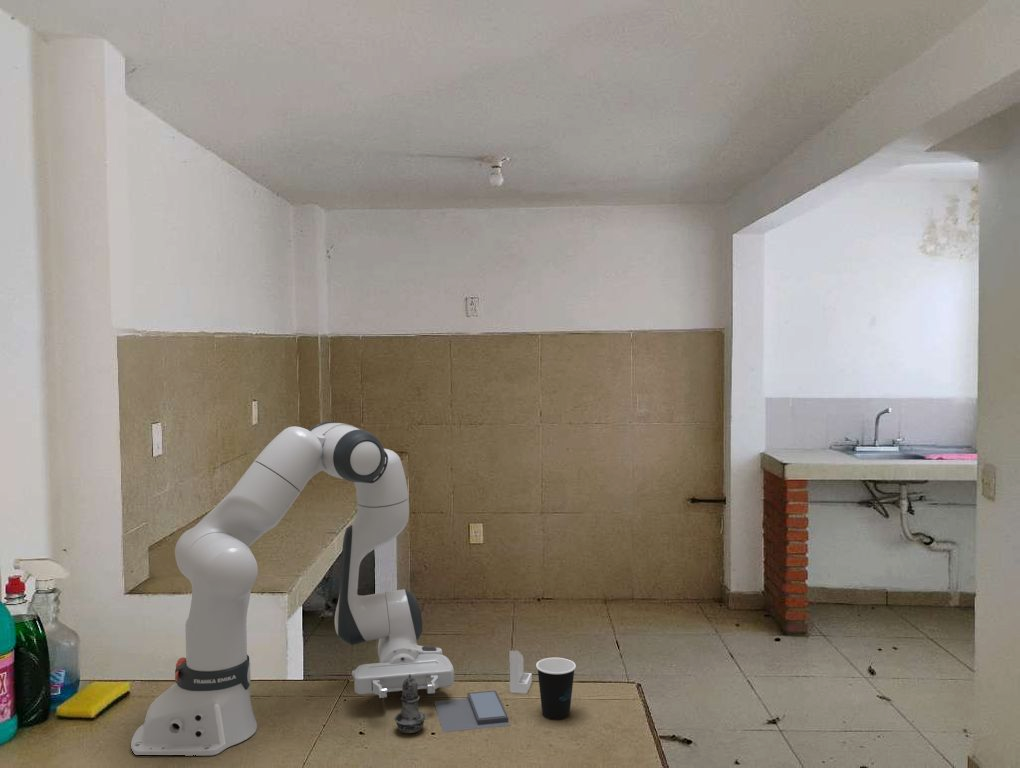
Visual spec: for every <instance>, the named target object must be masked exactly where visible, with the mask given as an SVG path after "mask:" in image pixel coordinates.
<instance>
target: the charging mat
mask: <svg viewBox="0 0 1020 768" xmlns="http://www.w3.org/2000/svg"><path fill="white" fill-rule="evenodd" d="M433 702H434V703H433V704H434V706H435V710H436V713H437V715H438V720H439V724H440V727H441V730H442V733H449V732H451V733H452V732H458V731H462V732H463V731H470V730H482V729H491V728H500V727H509V726H510V725H511V724H510V723H509V722H510V721H508V722H503V723H493V724H483V725H478V724H477V721H476V719H475V716H474V713H473V711H472V708H471V705H470V703H469V700H468V698H467V697H463V698H455V699H445V700H444V699H443V700H435V701H433Z"/></svg>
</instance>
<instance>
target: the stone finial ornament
mask: <svg viewBox="0 0 1020 768" xmlns="http://www.w3.org/2000/svg"><path fill="white" fill-rule="evenodd" d="M408 677H409V678H408V679H406V680H404V681H403V684H402V695H401V697H400V701H401V706H402V707H401V708H402V709H401V712H399V713H397V714H396V715H395V717H394V721H395V722H396V723H395V724H396V726H397V728H398V729H399V730H400V731H401V732H402V733H404V734H415V733H417V732H419V731H420V730H421V729H422V728H423V726H424V723H425V720H426V714H425V713H423V712H422V711H420V710H419V700H420V695H418V689H417V681H416V680H415V679H413V678H411V677H412V676H411V675H410V674H409V676H408Z"/></svg>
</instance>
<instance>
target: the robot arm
mask: <svg viewBox="0 0 1020 768" xmlns="http://www.w3.org/2000/svg"><path fill="white" fill-rule="evenodd" d="M402 463H403V462H402V460H401V457H400V456H399V455H398V453H397V452H395V451H393V450H391V449H388V448H384V447H383V445H382V443H381V441H380V440H379V438H377V437H376V436H375V435H374V434H372V433H371V432H369V431H367V430H365V429H360V428H358V427H356V426H355V425H352V424H348V423H342V422H336V421H324V422H320V423H317V424H315V425H313V426H311V427H310V428H308V429H307V428H304V427H302V426H295V425H294V426H289V427H287V428H285V429H283V430H282V431H281V432H280V433H279V434H277V435H276V436H275V437H274V438H272V440H271V441H270V442H269V443H268V444H267V445H266V446H265V447H264V449H262V451H261V452H260V453H259V454H258V456H257V457H256V458H255V459H254V461H253V462H252V463H251V464H250V466H249V467H248V468H247V469H246V471H245V473H244V474H243V475H242V476H241V477H240V479H239V480H238V481H237V483H236V484H235V486H233V488H232V489H231V490H230V491H229V493H228V494H227V495H226V496H225V497H224V498H223V499H221V501H220V502H219V503H218V504H217V505H216V506H215V507H214V508H212V509H211V510H210V511H209V512H208V513H207V514H206V515H205V516H203V518H202V519H201V520H199V522H197V524H196V525H194V526H193V527H191V528H189V529H188V530H186V531H185V532H183V534H182V535H180V537H179V538H178V540H177V542H176V543H175V547H174V556H175V558H174V559H175V562H176V565H177V569H178V570H179V571H180V573H181V574H182V575H183V576H184V577H185V578H186V579H188V580H189V582H190V585H191V601H190V608H189V613H188V617H187V619H186V621H185V657H180V658H179V659H178V660H177V661H176V664H175V670H174V671H175V672H174V680H175V682H174V683H173V684H172V685H171V686H170V687H168V688H167V689H166V690H165V691H164V692H163V693H161V694H160V695H158V696H157V697H156V698H155V699H153V702H152V703H151V704H150V706H149V707H148V709H147V712H146V715H145V719H144V722H143V724H141V725H140V726H139V727H138V728H137V729H136V731H135V732H134V734H133V735H132V737H131V741H130V743H131V744H130V750H131V749H132V751H133V752H134V754H136V755H185V756H187V757H188V756H189V757H191V756H193V755H194V757H195V755H196V756H215V755H218V754H219V753H222V752H223V751H225V750H226V749H227V748H229V747H233V746H234V745H238V744H240V743H242V742H244V741H246V740H247V739H249V738H250V737H252V736H253V735H254V734H255V733H256V731H257V729H258V723H257V721H256V717H255V714H254V710H253V705H252V700H251V694H250V685H251V663H250V656H249V654H248V642H247V641H248V639H247V638H248V637H247V636H248V635H247V633H248V632H247V623H248V621H247V619H248V609H249V603H250V598H251V595H252V594H251V592H252V589H253V586H254V585H255V583H256V581H257V578H258V576H259V575H258V574H259V566H258V562H257V559H256V558H255V556H254V554H253V552H252V550H251V549H250V547H251V546H252V545H253V544H254V543H255V542H256V541H257V540H258V539H260V537H262V536H263V535H264V534H265V533H266V532H268V531H271V530H272V529H274V528H276V527H277V526H278V524H279V523H280V522H281V520H282V519H283V518H284V517H285V515H286V514H287V512H288V511H289V510H290V508H291V507H292V505H293V504H294V502H296V500H297V498H298V497H299V495H301V493H302V491H303V490H304V488H305V487H306V486H307V484H308V482H309V481H310V480H311V479H312V478H313V477H314V476H315V475H317V474H319V473H320V472H322V471H323V472H324V473H326V474H327V475H330V476H331V477H334V478H337V479H342V480H345V481H348V482H352V483H353V484H354V487H355V489H356V491H355V492H356V495H355V496H356V504H357V507H356V515H355V518H354V521H353V522H352V524H351V525H349V526H348V527H346V529H345V532H344V535H343V541H342V551H341V559H340V570H339V571H340V572H339V583H338V584H339V585H338V598H337V603H336V604H337V605H336V608H335V613H334V629H335V632H336V635H337V637H338V638H339V639H340V640H341V641H343V642H344V643H346V644H348V645H350V646H354V645H357V644H361V643H362V644H363V643H365V642H367V641H373V640H378V643H377V653H378V654H377V655H378V660H379V662H375V663H363V664H360V665H358V666H357V667H356V669H353V670H352V672H351V676H352V678H353V679H354V682H353V683H354V684H353V685H354V687H353V688H354V692H355V694H357V695H366V694H369V695H370V694H375V695H378V698H379V699H385V698H387V697H388V694H387V693H390V692H392V693H393V692H400V691H402V684H403V681H404V680H406V679H408V678H409V677H408V676H409V674H410V675H411V676H412V677H411V678H413V679H415V680H416V681H417V690H426V692H427V695H428V694H429V695H430V694H435V693H436V689H438V688H439V689H440V688H447V687H448V688H450V687H452V686H453V685H454V684H455V670H454V666H453V663H452V662H451V661H450V659H449V657H447V656H446V655H443V649H442V648H440V647H434V646H433V647H432V646H423V645H419V644H418V643H417V642H418V640H419V639H420V637H421V635H422V633H423V619H422V618H423V617H422V613H421V608H420V605H419V603H418V599H417V597H416V595H414V594H413V593H412V592H411V591H410V590H408V589H406V588H403V589H396V590H390V591H385V592H378V593H373V594H366V595H361V594H360V595H359V594H358V589H359V574H360V573H359V572H360V566H361V562H362V560H363V559H364V558H365V557H366V556H367V555H368V554H370V553H371V552H372V551H374V550H376V549H377V548H379V547H380V546H383V545H385V544H387V543H388V542H389V543H390V542H391V541H392V540H393V539H395V538H396V537H398V535H400V534H401V532H403V530H404V529H405V528H406V527H407V524H408V522H409V520H410V501H409V500H410V499H409V491H408V483H407V479H406V474H405V470H404V467H403V464H402ZM132 751H131V752H132ZM134 754H133V755H134Z"/></svg>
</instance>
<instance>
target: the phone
mask: <svg viewBox="0 0 1020 768" xmlns="http://www.w3.org/2000/svg"><path fill="white" fill-rule="evenodd" d="M466 693H467V694H466V695H467V697H466V698H468V700H469V703H470V705H471V708H472V711H473V713H474V716H475V719H476V721H477V724H478V725H483V724H493V723H503V722H509V716H508V714H507V712H506V710H505V708H504V705H503V703H502V701H501V699H500V697H499V695H498V692H497V691H496V690H485V691H476V692H466Z"/></svg>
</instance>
